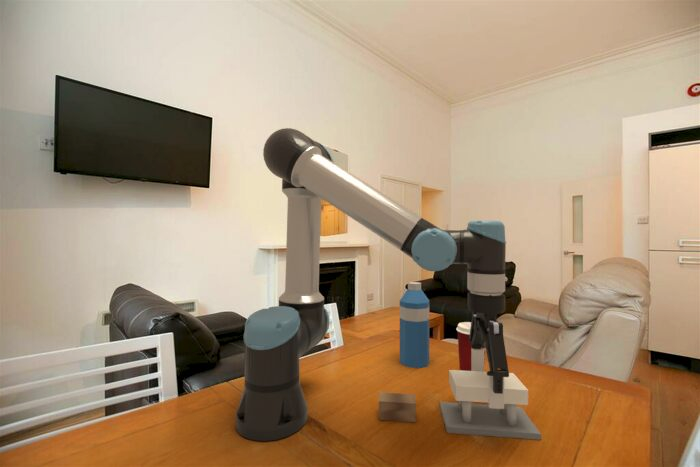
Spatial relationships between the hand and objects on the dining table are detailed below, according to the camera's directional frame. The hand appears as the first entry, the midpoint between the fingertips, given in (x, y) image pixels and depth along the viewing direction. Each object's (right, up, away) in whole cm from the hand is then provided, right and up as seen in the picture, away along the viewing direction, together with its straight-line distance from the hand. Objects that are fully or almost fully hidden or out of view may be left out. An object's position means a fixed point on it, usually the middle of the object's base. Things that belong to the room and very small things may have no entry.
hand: (486, 390), depth 70 cm
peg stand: (0, -7, 0) cm, 7 cm away
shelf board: (0, 0, 0) cm, 0 cm away
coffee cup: (+5, -7, +21) cm, 22 cm away
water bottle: (-9, -7, +32) cm, 34 cm away
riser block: (-19, -7, +2) cm, 20 cm away
